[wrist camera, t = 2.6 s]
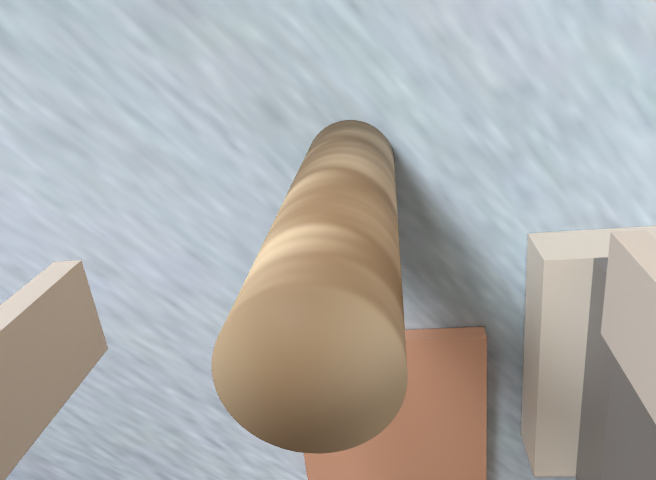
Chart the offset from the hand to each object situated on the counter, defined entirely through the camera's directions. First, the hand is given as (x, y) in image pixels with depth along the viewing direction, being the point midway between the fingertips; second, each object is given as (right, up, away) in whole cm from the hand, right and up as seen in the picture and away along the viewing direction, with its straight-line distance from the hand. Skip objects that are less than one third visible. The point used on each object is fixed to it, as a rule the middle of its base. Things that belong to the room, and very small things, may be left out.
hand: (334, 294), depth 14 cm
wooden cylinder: (+1, +5, +12) cm, 13 cm away
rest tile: (+3, -8, +17) cm, 19 cm away
